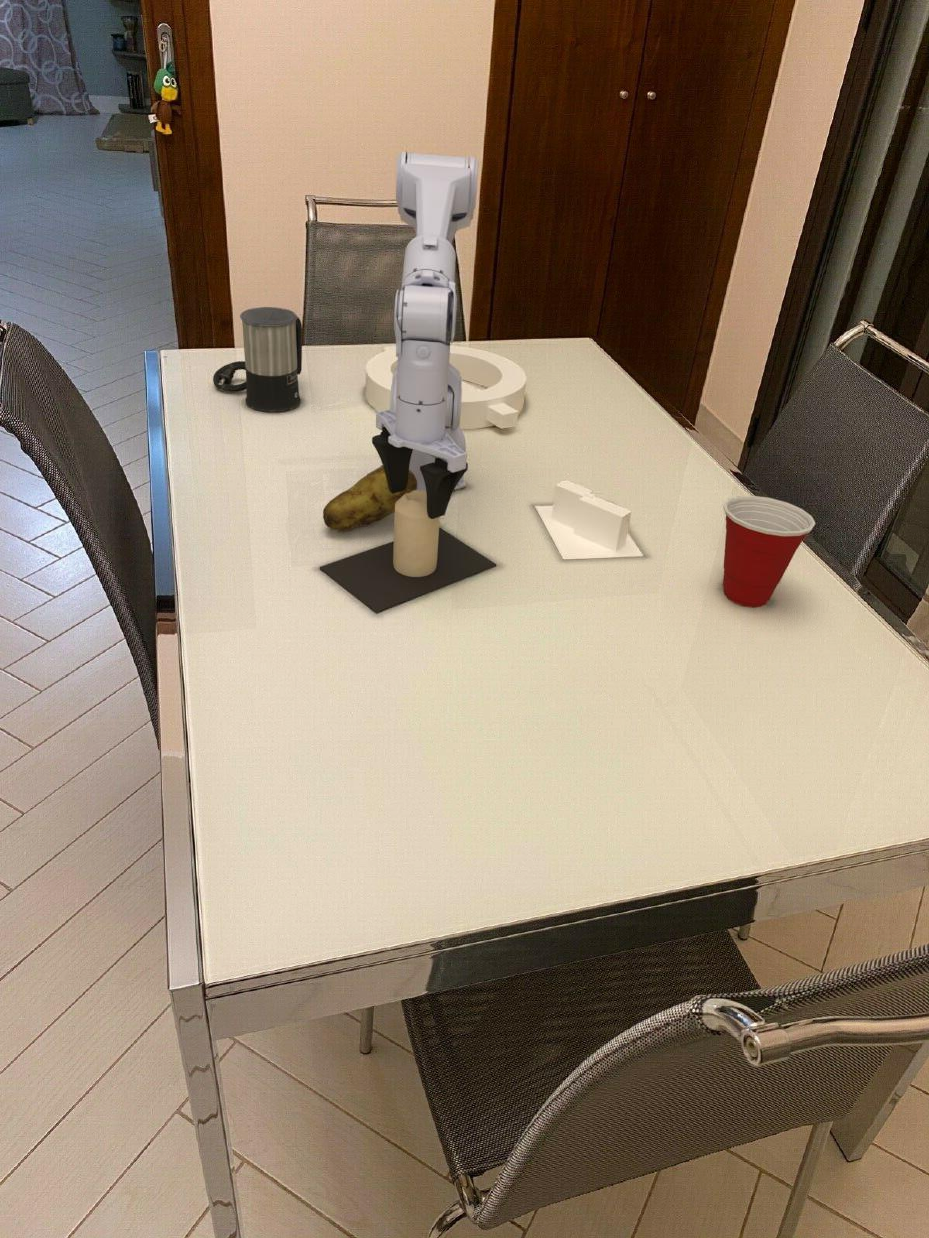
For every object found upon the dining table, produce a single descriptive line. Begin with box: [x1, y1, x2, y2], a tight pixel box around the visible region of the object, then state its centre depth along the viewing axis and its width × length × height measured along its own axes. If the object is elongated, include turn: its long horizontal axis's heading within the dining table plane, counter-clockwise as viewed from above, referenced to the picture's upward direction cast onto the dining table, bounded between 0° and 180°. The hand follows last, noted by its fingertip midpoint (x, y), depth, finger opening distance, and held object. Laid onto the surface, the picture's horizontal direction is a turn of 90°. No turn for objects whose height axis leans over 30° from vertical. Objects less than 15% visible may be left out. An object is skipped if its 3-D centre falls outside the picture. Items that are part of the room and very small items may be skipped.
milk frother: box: [212, 306, 303, 413], centre depth 157 cm, size 14×16×15 cm
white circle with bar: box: [365, 344, 527, 430], centre depth 166 cm, size 28×28×5 cm
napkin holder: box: [534, 479, 644, 560], centre depth 129 cm, size 15×11×6 cm
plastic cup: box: [722, 495, 817, 608], centre depth 116 cm, size 11×11×12 cm
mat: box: [319, 526, 498, 614], centre depth 119 cm, size 19×12×1 cm, turn 130°
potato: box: [322, 464, 417, 532], centre depth 125 cm, size 8×13×8 cm, turn 102°
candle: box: [393, 490, 441, 577], centre depth 116 cm, size 6×6×10 cm
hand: (416, 503), depth 113 cm, fingers open, 7 cm apart
